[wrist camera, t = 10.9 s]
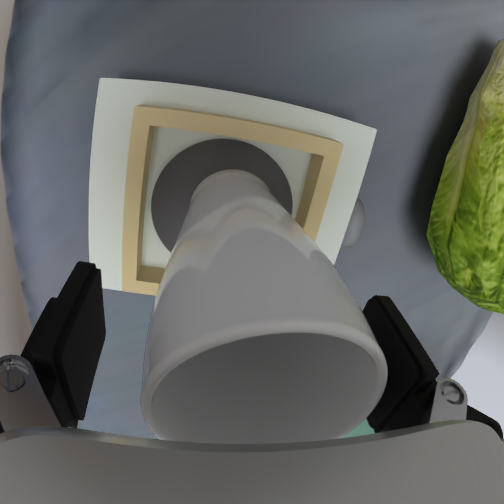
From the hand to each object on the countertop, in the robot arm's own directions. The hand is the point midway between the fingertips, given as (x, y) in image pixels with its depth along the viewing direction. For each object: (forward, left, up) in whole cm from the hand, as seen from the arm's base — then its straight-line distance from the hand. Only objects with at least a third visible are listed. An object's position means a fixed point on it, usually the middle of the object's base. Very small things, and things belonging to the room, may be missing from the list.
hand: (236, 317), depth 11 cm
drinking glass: (0, +1, -11) cm, 11 cm away
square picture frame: (+1, 0, -16) cm, 16 cm away
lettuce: (-8, +23, -16) cm, 29 cm away
